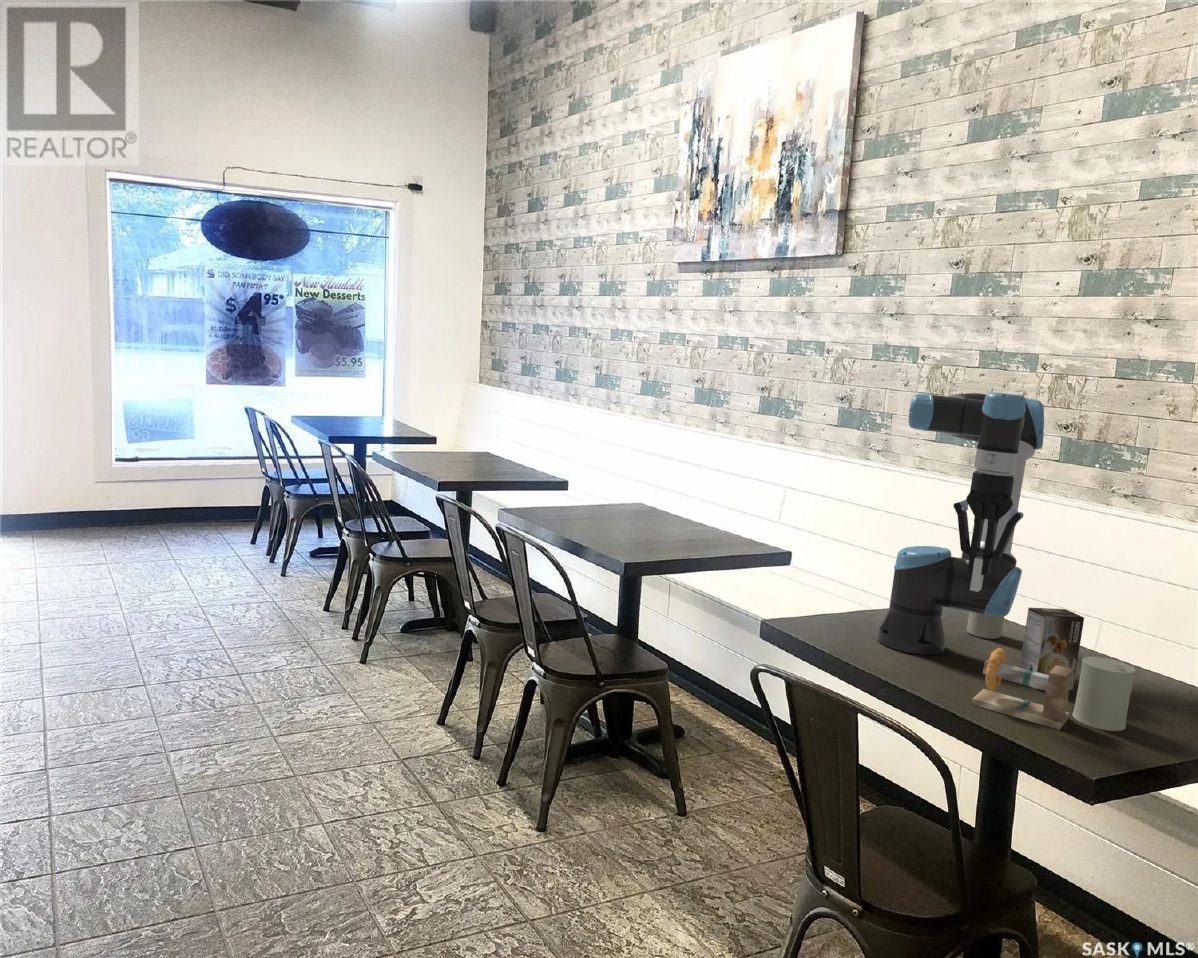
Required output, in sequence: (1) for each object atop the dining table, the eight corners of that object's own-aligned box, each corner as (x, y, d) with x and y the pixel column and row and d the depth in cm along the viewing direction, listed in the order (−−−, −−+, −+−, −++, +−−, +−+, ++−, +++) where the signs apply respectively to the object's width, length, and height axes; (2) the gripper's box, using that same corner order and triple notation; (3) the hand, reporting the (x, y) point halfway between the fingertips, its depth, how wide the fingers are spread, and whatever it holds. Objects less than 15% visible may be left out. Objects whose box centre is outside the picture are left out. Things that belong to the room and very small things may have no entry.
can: (1102, 733, 178) (1113, 671, 176) (1061, 713, 186) (1071, 654, 184) (1136, 729, 182) (1147, 669, 180) (1094, 710, 190) (1104, 652, 188)
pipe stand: (971, 704, 187) (979, 655, 185) (982, 694, 193) (990, 646, 192) (1059, 729, 177) (1068, 678, 176) (1068, 718, 184) (1076, 668, 182)
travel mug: (1005, 636, 237) (1017, 566, 234) (992, 641, 231) (1004, 570, 229) (974, 627, 243) (985, 559, 240) (961, 632, 237) (972, 562, 234)
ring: (981, 691, 185) (988, 652, 184) (992, 682, 192) (998, 644, 191) (992, 694, 184) (998, 655, 183) (1003, 685, 191) (1009, 646, 190)
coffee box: (1054, 679, 207) (1066, 608, 204) (1073, 690, 201) (1086, 617, 198) (1016, 678, 205) (1027, 606, 203) (1034, 689, 199) (1046, 615, 197)
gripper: (954, 468, 186) (936, 585, 189) (1024, 479, 178) (1005, 600, 182) (965, 466, 192) (948, 579, 195) (1033, 476, 184) (1014, 594, 188)
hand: (975, 589), depth 189 cm, fingers closed
